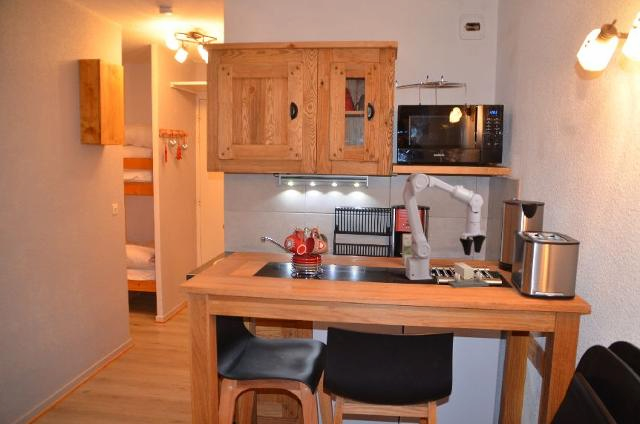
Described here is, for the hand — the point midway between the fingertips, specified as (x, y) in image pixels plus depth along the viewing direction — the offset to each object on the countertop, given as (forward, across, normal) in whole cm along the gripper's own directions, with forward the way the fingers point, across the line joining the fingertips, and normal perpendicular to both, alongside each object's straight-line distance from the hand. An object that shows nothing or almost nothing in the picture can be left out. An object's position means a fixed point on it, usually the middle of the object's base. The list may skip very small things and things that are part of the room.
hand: (472, 253), depth 209 cm
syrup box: (+10, -2, +32) cm, 34 cm away
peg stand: (+10, -13, -7) cm, 18 cm away
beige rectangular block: (+10, -4, +2) cm, 11 cm away
